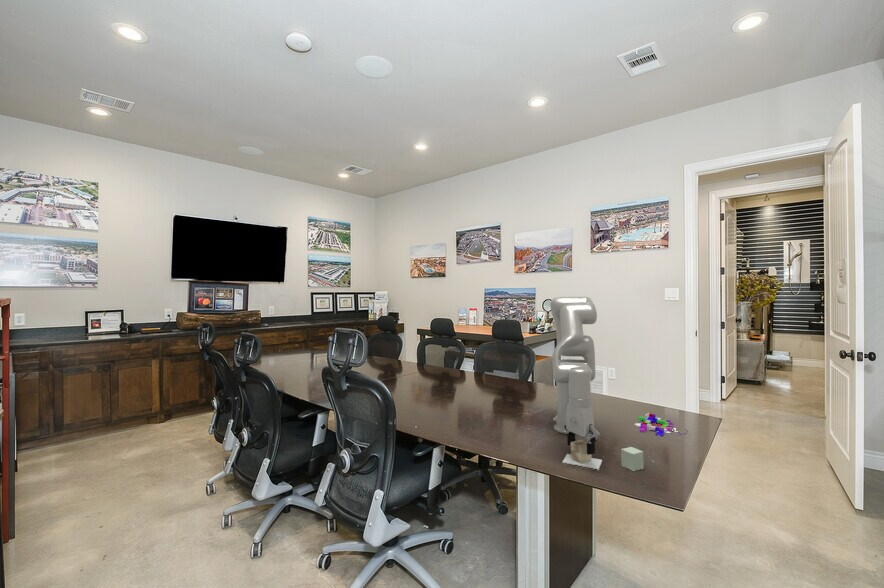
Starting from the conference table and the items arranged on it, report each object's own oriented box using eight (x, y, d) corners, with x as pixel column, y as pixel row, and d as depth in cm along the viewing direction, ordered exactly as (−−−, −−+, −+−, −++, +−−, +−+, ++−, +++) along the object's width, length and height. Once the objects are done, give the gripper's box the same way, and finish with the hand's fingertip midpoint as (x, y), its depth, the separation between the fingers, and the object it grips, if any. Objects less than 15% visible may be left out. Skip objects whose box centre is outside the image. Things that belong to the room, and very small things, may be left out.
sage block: (621, 466, 140) (621, 449, 140) (631, 463, 142) (631, 446, 142) (633, 471, 136) (633, 454, 136) (643, 468, 138) (643, 451, 138)
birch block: (571, 458, 145) (570, 442, 145) (581, 456, 147) (581, 439, 147) (580, 463, 141) (580, 446, 141) (591, 461, 143) (591, 444, 143)
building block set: (681, 441, 163) (681, 430, 163) (628, 431, 177) (628, 421, 177) (691, 425, 182) (691, 416, 183) (643, 417, 196) (642, 408, 196)
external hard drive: (599, 472, 137) (562, 465, 143) (602, 463, 144) (567, 457, 150) (599, 468, 137) (562, 460, 143) (602, 459, 144) (567, 452, 150)
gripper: (555, 397, 150) (556, 443, 150) (589, 409, 134) (590, 459, 134) (571, 395, 153) (572, 439, 153) (606, 406, 137) (607, 455, 137)
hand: (580, 449), depth 144 cm, fingers open, 9 cm apart
